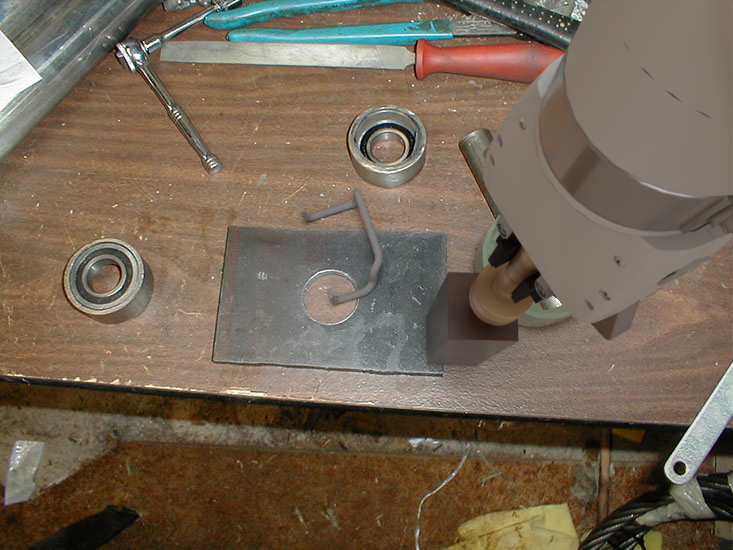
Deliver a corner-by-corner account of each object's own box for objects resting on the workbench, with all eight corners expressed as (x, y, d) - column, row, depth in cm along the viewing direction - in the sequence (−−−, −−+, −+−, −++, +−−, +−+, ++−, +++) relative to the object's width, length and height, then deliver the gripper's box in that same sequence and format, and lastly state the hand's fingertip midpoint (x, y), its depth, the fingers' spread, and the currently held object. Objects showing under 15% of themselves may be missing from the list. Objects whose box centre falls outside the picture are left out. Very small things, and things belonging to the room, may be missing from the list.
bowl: (591, 329, 67) (611, 320, 62) (474, 325, 68) (484, 316, 62) (582, 220, 71) (601, 202, 65) (472, 217, 71) (481, 199, 66)
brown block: (476, 366, 66) (518, 341, 47) (426, 364, 66) (448, 339, 47) (475, 317, 68) (515, 273, 49) (426, 315, 68) (447, 271, 49)
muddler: (526, 326, 43) (588, 282, 30) (469, 324, 43) (507, 280, 30) (523, 272, 44) (582, 208, 31) (468, 270, 44) (505, 206, 32)
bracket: (304, 217, 72) (296, 202, 67) (361, 197, 72) (357, 181, 67) (333, 308, 69) (327, 299, 64) (392, 287, 69) (391, 277, 64)
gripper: (913, 265, 17) (639, 350, 35) (612, -85, 21) (504, 151, 39) (717, 382, 16) (539, 408, 34) (442, -7, 20) (411, 199, 38)
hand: (521, 270), depth 36 cm, fingers closed on muddler, 2 cm apart
